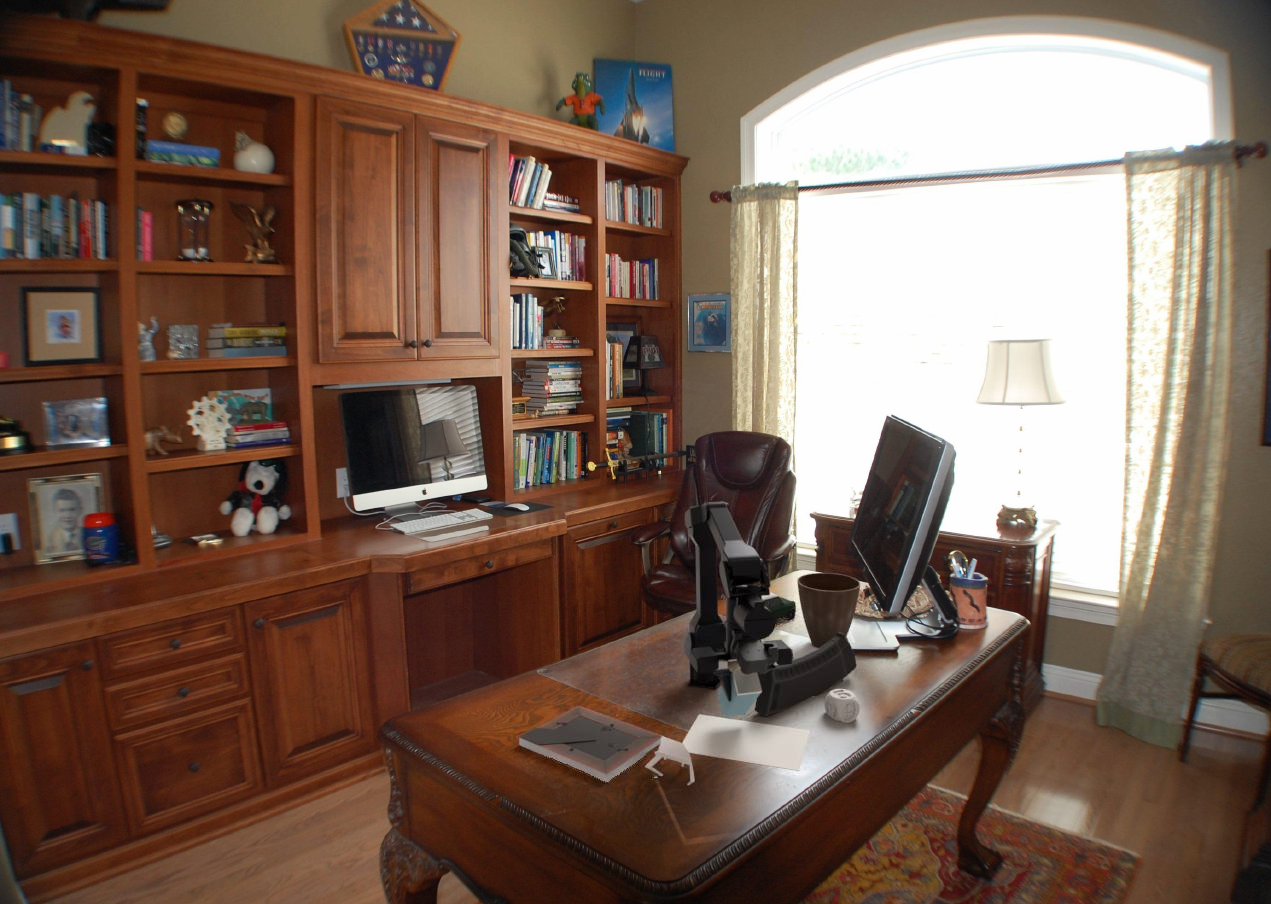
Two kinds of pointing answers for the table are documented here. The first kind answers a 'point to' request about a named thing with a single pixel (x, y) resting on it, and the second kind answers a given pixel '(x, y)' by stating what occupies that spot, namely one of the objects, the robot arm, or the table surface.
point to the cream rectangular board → (747, 741)
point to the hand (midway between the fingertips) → (741, 699)
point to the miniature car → (780, 606)
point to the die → (842, 705)
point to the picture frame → (591, 742)
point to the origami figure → (672, 755)
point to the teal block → (740, 693)
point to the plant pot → (827, 604)
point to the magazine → (806, 676)
